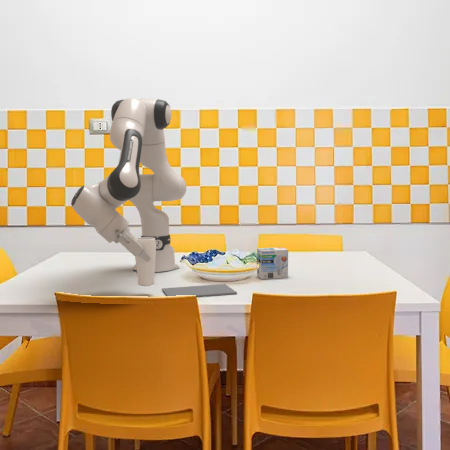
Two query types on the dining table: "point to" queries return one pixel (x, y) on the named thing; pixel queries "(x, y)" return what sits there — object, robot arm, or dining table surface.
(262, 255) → the light bulb box
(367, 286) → the dining table surface
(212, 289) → the slate rubber mat
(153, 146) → the robot arm
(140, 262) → the drinking glass
